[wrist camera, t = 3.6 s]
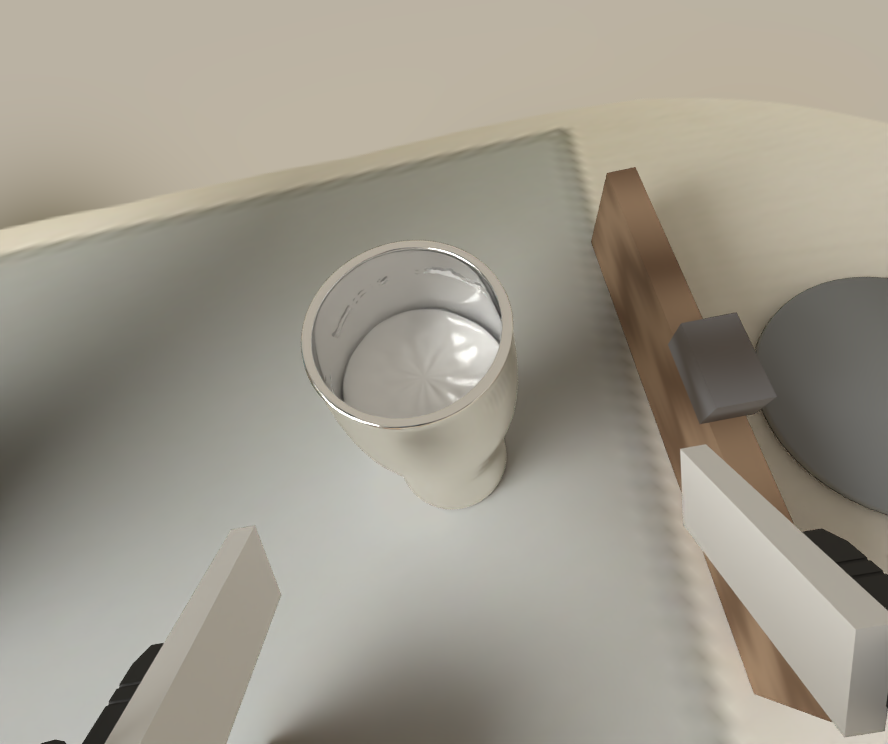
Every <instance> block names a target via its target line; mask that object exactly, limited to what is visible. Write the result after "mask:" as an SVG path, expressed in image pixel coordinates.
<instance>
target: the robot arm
mask: <svg viewBox="0 0 888 744" xmlns="http://www.w3.org/2000/svg"><path fill="white" fill-rule="evenodd" d="M680 456H681V482H682V508H683V525H684V527H685V528H686V529H687V531H688V532H689V533H690V535H691V536H692V537H693V539H694V540H695V541H696V543H697V544H698V545H699V546H700V548H701V549H702V550H703V552H704V553H705V554H706V556H707V557H708V558H709V560H710V561H711V562H712V564H713V565H714V566H715V568H716V569H717V570H718V572H719V573H720V574H721V575H722V577H723V578H724V579H725V581H726V582H727V583H728V585H729V586H730V587H731V589H732V590H733V591H734V593H735V594H736V595H737V597H738V598H739V599H740V601H741V602H742V603H743V604H744V606H745V607H746V608H747V610H748V611H749V612H750V614H751V615H752V616H753V618H754V619H755V620H756V622H757V623H758V624H759V626H760V627H761V628H762V630H763V631H764V632H765V633H766V635H767V636H768V637H769V639H770V640H771V641H772V643H773V644H774V645H775V647H776V648H777V649H778V651H779V652H780V653H781V655H782V656H783V657H784V659H785V660H786V661H787V662H788V664H789V665H790V666H791V668H792V669H793V670H794V672H795V673H796V674H797V676H798V677H799V678H800V680H801V681H802V682H803V684H804V685H805V686H806V687H807V689H808V690H809V691H810V693H811V694H812V695H813V697H814V698H815V699H816V701H817V702H818V703H819V705H820V706H821V707H822V709H823V710H824V711H825V713H826V714H827V715H828V716H829V718H830V719H831V720H832V722H833V723H834V724H835V726H836V727H837V728H838V730H839V731H840V732H841V734H842V735H843V736H844V737H850V736H856V735H863V734H869V733H875V732H882V731H885V725H886V718H887V711H888V575H887V574H884V573H883V570H881V569H880V568H879V567H878V566H877V565H875V564H874V563H873V562H872V561H871V560H870V561H868V560H867V557H866V556H865V555H863V554H862V553H861V552H860V551H859V550H857V549H856V548H855V547H854V546H853V545H851V544H850V543H849V542H848V541H846V540H844V539H842V538H840V537H838V536H836V535H834V534H832V533H830V532H828V531H826V530H824V529H817V530H811V531H805V532H801V531H800V530H799V529H798V528H797V527H796V526H795V525H794V524H793V523H791V522H790V521H789V520H788V519H787V518H786V517H785V516H784V515H783V514H782V513H781V512H779V511H778V510H777V509H776V508H775V507H774V506H773V505H772V504H771V503H770V502H768V501H767V500H766V499H765V498H764V497H763V496H762V495H761V494H760V493H759V492H758V491H756V490H755V489H754V488H753V487H752V486H751V485H750V484H749V483H748V482H747V481H746V480H744V479H743V478H742V477H741V476H740V475H739V474H738V473H737V472H736V471H735V470H734V469H732V468H731V467H730V466H729V465H728V464H727V463H726V462H725V461H724V460H723V459H722V458H720V457H719V456H718V455H717V454H716V453H715V452H714V451H713V450H712V449H711V448H710V447H708V446H707V445H706V444H704V445H699V446H693V447H688V448H682V449H680ZM280 597H281V593H280V590H279V587H278V585H277V582H276V579H275V577H274V574H273V572H272V569H271V566H270V564H269V561H268V558H267V556H266V553H265V551H264V548H263V545H262V543H261V540H260V537H259V535H258V532H257V529H256V527H255V525H254V526H249V527H243V528H238V529H232V530H231V531H230V532H229V534H228V536H227V537H226V539H225V541H224V542H223V544H222V546H221V548H220V549H219V551H218V553H217V554H216V556H215V558H214V559H213V561H212V563H211V564H210V566H209V568H208V570H207V571H206V573H205V575H204V576H203V578H202V580H201V581H200V583H199V585H198V586H197V588H196V590H195V592H194V593H193V595H192V597H191V598H190V600H189V602H188V603H187V605H186V607H185V608H184V610H183V612H182V614H181V615H180V617H179V619H178V620H177V622H176V624H175V625H174V627H173V629H172V630H171V632H170V634H169V636H168V637H167V639H166V641H165V642H164V643H161V644H155V645H151V646H150V647H149V648H148V649H147V650H146V651H145V652H144V653H143V654H142V655H141V656H140V657H139V658H138V659H137V660H136V661H135V662H134V663H133V664H132V666H131V667H130V669H129V670H128V672H127V674H126V675H125V677H124V678H123V680H122V681H121V683H120V685H119V686H120V687H119V689H116V691H115V693H114V694H113V696H112V697H111V699H110V700H109V705H108V706H106V707H105V708H104V710H103V712H102V713H101V715H100V716H99V718H98V719H97V721H96V723H95V724H94V726H93V727H92V729H91V731H90V732H89V734H88V735H87V737H86V738H85V740H84V742H83V743H82V744H226V743H227V740H228V737H229V735H230V732H231V729H232V727H233V724H234V721H235V719H236V716H237V713H238V710H239V708H240V705H241V702H242V700H243V697H244V694H245V692H246V689H247V686H248V683H249V681H250V678H251V675H252V673H253V670H254V667H255V665H256V662H257V659H258V657H259V654H260V651H261V648H262V646H263V643H264V640H265V638H266V635H267V632H268V630H269V627H270V624H271V621H272V619H273V616H274V613H275V611H276V608H277V605H278V603H279V600H280ZM41 744H66V743H65V741H60V740H52V741H48V742H44V743H41Z"/></svg>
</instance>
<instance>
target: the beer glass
mask: <svg viewBox="0 0 888 744" xmlns="http://www.w3.org/2000/svg"><path fill="white" fill-rule="evenodd" d="M301 353H302V359H303V364H304V367H305V371H306V373H307V376H308V378H309V380H310V382H311V384H312V386H313V387H314V389H315V390H316V392H317V393H318V394H319V395H320V397H321V398H322V399H323V400H324V401H325V403H326V405H327V406H328V408H329V410H330V411H331V413H332V414H333V416H334V417H335V419H336V420H337V422H338V423H339V425H340V426H341V427H342V429H343V430H344V431H345V432H346V434H347V435H348V436H349V437H350V438H351V440H352V441H353V442H354V443H355V444H356V445H357V446H358V447H359V448H360V449H361V450H362V451H363V452H364V453H365V454H367V455H368V456H369V457H370V458H371V459H372V460H373V461H375V462H376V463H377V464H379V465H380V466H382V467H384V468H386V469H387V470H389V471H391V472H394V473H396V474H398V475H400V476H402V477H404V479H405V481H406V483H407V485H408V487H409V488H410V489H411V491H412V492H413V493H414V494H415V495H416V496H417V497H418V498H420V499H421V500H422V501H424V502H425V503H427V504H429V505H432V506H434V507H437V508H442V509H462V508H467V507H470V506H472V505H475V504H477V503H479V502H480V501H482V500H483V499H485V498H486V497H487V496H489V495H490V494H491V493H492V492H493V490H494V489H495V488H496V487H497V485H498V484H499V482H500V480H501V478H502V476H503V473H504V470H505V466H506V459H507V452H506V445H505V441H504V437H505V435H506V433H507V431H508V428H509V426H510V423H511V421H512V418H513V415H514V411H515V405H516V398H517V390H518V362H517V353H516V345H515V338H514V332H513V315H512V309H511V305H510V302H509V299H508V296H507V294H506V292H505V289H504V288H503V286H502V284H501V282H500V281H499V279H498V278H497V277H496V275H495V274H494V273H493V272H492V271H491V270H490V269H489V268H488V267H487V266H486V265H485V264H484V263H483V262H482V261H480V260H479V259H478V258H476V257H475V256H473V255H471V254H470V253H468V252H466V251H464V250H462V249H459V248H457V247H454V246H451V245H448V244H444V243H440V242H435V241H427V240H407V241H399V242H393V243H388V244H385V245H381V246H378V247H375V248H372V249H370V250H368V251H365V252H363V253H361V254H359V255H358V256H356V257H354V258H352V259H351V260H349V261H348V262H346V263H345V264H344V265H342V266H341V267H340V268H339V269H337V270H336V271H335V272H334V273H333V274H332V275H331V276H330V277H329V278H328V279H327V280H326V281H325V282H324V284H323V285H322V286H321V287H320V289H319V290H318V292H317V293H316V295H315V296H314V298H313V300H312V302H311V304H310V306H309V308H308V310H307V313H306V316H305V319H304V323H303V327H302V333H301Z"/></svg>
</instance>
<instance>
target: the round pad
mask: <svg viewBox="0 0 888 744" xmlns="http://www.w3.org/2000/svg"><path fill="white" fill-rule="evenodd" d="M756 354H757V356H758V358H759V360H760V362H761V365H762V367H763V369H764V371H765V373H766V375H767V377H768V379H769V381H770V383H771V385H772V387H773V389H774V392H775V394H776V396H777V397H776V398H775V399H774V400H772V401H771V402H770V403H768V404H767V405H766V406H764V407H763V408H762V411H763V413H764V416H765V417H766V419H767V421H768V423H769V425H770V427H771V429H772V430H773V432H774V433H775V435H776V436H777V438H778V439H779V440H780V442H781V443H782V445H783V446H784V447H785V448H786V449H787V450H788V452H789V453H790V454H791V455H792V456H793V457H794V458H795V460H796V461H798V462H799V463H800V464H801V465H802V466H803V467H804V468H805V469H806V470H807V471H808V472H809V473H811V474H812V475H813V476H814V477H816V478H817V479H818V480H820V481H821V482H822V483H824V484H825V485H827V486H828V487H829V488H831V489H833V490H834V491H836V492H838V493H839V494H841V495H843V496H844V497H846V498H848V499H850V500H852V501H854V502H856V503H858V504H860V505H863V506H865V507H867V508H870V509H872V510H875V511H878V512H881V513H884V514H886V515H888V278H878V277H854V278H846V279H839V280H834V281H830V282H826V283H822V284H820V285H817V286H814V287H812V288H809V289H807V290H805V291H804V292H802V293H800V294H798V295H796V296H795V297H794V298H792V299H791V300H790V301H788V302H787V303H786V304H785V305H784V306H783V307H782V308H781V309H780V310H779V311H778V312H777V313H776V314H775V315H774V316H773V317H772V318H771V320H770V321H769V322H768V324H767V325H766V327H765V328H764V330H763V332H762V334H761V337H760V339H759V341H758V344H757V348H756Z"/></svg>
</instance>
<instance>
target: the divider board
mask: <svg viewBox="0 0 888 744" xmlns="http://www.w3.org/2000/svg"><path fill="white" fill-rule="evenodd" d="M591 243H592V246H593V248H594V251H595V254H596V257H597V260H598V262H599V265H600V268H601V271H602V273H603V276H604V279H605V282H606V284H607V287H608V290H609V293H610V296H611V298H612V301H613V304H614V307H615V309H616V312H617V315H618V318H619V320H620V323H621V326H622V329H623V332H624V334H625V337H626V340H627V343H628V345H629V348H630V351H631V354H632V356H633V359H634V362H635V365H636V368H637V370H638V373H639V376H640V379H641V381H642V384H643V387H644V390H645V393H646V395H647V398H648V401H649V404H650V406H651V409H652V412H653V415H654V417H655V420H656V423H657V426H658V429H659V431H660V434H661V437H662V440H663V442H664V445H665V448H666V451H667V453H668V456H669V459H670V462H671V465H672V467H673V470H674V473H675V476H676V478H677V481H678V484H679V487H680V489H681V492H682V482H681V456H680V449H682V448H688V447H693V446H699V445H704V444H706V445H707V446H708V447H710V448H711V449H712V450H713V451H714V452H715V453H716V454H717V455H718V456H719V457H720V458H722V459H723V460H724V461H725V462H726V463H727V464H728V465H729V466H730V467H731V468H732V469H734V470H735V471H736V472H737V473H738V474H739V475H740V476H741V477H742V478H743V479H744V480H746V481H747V482H748V483H749V484H750V485H751V486H752V487H753V488H754V489H755V490H756V491H758V492H759V493H760V494H761V495H762V496H763V497H764V498H765V499H766V500H767V501H768V502H770V503H771V504H772V505H773V506H774V507H775V508H776V509H777V510H778V511H779V512H781V513H782V514H783V515H784V516H785V517H786V518H787V519H788V520H789V521H790V522H791V523H793V521H792V519H791V516H790V514H789V512H788V510H787V507H786V505H785V503H784V501H783V498H782V496H781V494H780V492H779V489H778V487H777V485H776V483H775V480H774V478H773V476H772V474H771V471H770V469H769V467H768V465H767V462H766V460H765V458H764V456H763V453H762V451H761V449H760V447H759V444H758V442H757V440H756V438H755V435H754V433H753V431H752V429H751V426H750V424H749V422H748V420H747V417H746V415H751V414H755V413H757V412H758V411H759V410H761V409H762V408H763V407H764V406H766V405H767V404H768V403H770V402H771V401H772V400H774V399H775V398H776V397H777V396H776V394H775V392H774V389H773V387H772V385H771V383H770V381H769V379H768V377H767V375H766V373H765V371H764V369H763V367H762V365H761V362H760V360H759V358H758V356H757V354H756V352H755V350H754V348H753V346H752V344H751V342H750V340H749V337H748V335H747V333H746V331H745V329H744V327H743V325H742V323H741V321H740V319H739V317H738V315H737V313H731V314H726V315H721V316H715V317H710V318H705V319H703V318H702V316H701V314H700V312H699V309H698V307H697V305H696V303H695V300H694V298H693V296H692V294H691V291H690V289H689V287H688V285H687V282H686V280H685V278H684V276H683V273H682V271H681V269H680V267H679V264H678V262H677V260H676V258H675V255H674V253H673V251H672V249H671V246H670V244H669V242H668V240H667V237H666V235H665V233H664V231H663V228H662V226H661V224H660V222H659V219H658V217H657V215H656V213H655V210H654V208H653V206H652V204H651V201H650V199H649V197H648V195H647V192H646V190H645V188H644V186H643V183H642V181H641V179H640V177H639V174H638V172H637V170H636V168H635V167H634V168H629V169H624V170H620V171H615V172H610V173H607V175H606V180H605V184H604V188H603V193H602V197H601V201H600V206H599V210H598V214H597V219H596V223H595V227H594V232H593V236H592V240H591ZM793 524H794V523H793ZM703 553H704V552H703ZM704 556H705V559H706V561H707V564H708V567H709V570H710V573H711V575H712V578H713V581H714V584H715V586H716V589H717V592H718V595H719V598H720V600H721V603H722V606H723V609H724V611H725V614H726V617H727V620H728V622H729V625H730V628H731V631H732V634H733V636H734V639H735V642H736V645H737V647H738V650H739V653H740V656H741V658H742V661H743V664H744V667H745V670H746V672H747V675H748V678H749V681H750V683H751V686H752V689H753V692H754V694H756V695H759V696H762V697H764V698H767V699H770V700H773V701H775V702H778V703H781V704H783V705H786V706H789V707H792V708H794V709H797V710H800V711H803V712H805V713H808V714H811V715H813V716H816V717H819V718H822V719H824V720H827V721H830V722H832V720H831V719H830V718H829V716H828V715H827V714H826V713H825V711H824V710H823V709H822V707H821V706H820V705H819V703H818V702H817V701H816V699H815V698H814V697H813V695H812V694H811V693H810V691H809V690H808V689H807V687H806V686H805V685H804V684H803V682H802V681H801V680H800V678H799V677H798V676H797V674H796V673H795V672H794V670H793V669H792V668H791V666H790V665H789V664H788V662H787V661H786V660H785V659H784V657H783V656H782V655H781V653H780V652H779V651H778V649H777V648H776V647H775V645H774V644H773V643H772V641H771V640H770V639H769V637H768V636H767V635H766V633H765V632H764V631H763V630H762V628H761V627H760V626H759V624H758V623H757V622H756V620H755V619H754V618H753V616H752V615H751V614H750V612H749V611H748V610H747V608H746V607H745V606H744V604H743V603H742V602H741V601H740V599H739V598H738V597H737V595H736V594H735V593H734V591H733V590H732V589H731V587H730V586H729V585H728V583H727V582H726V581H725V579H724V578H723V577H722V575H721V574H720V573H719V572H718V570H717V569H716V568H715V566H714V565H713V564H712V562H711V561H710V560H709V558H708V557H707V556H706V554H705V553H704Z"/></svg>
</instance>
